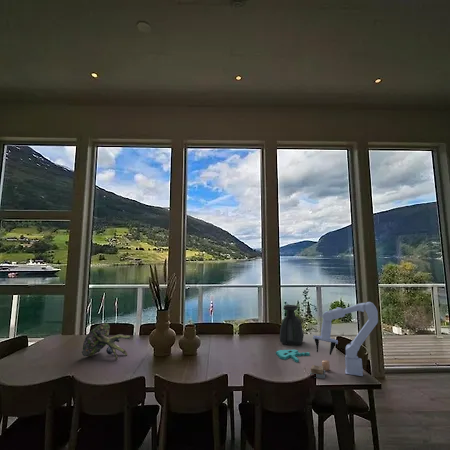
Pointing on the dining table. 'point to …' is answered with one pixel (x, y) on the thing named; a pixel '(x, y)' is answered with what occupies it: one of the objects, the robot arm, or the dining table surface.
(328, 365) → the terracotta cylinder
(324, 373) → the tower base slab
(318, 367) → the tower top slab
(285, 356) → the teal keys
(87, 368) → the dining table surface
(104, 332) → the green textured branching piece
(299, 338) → the bottle
